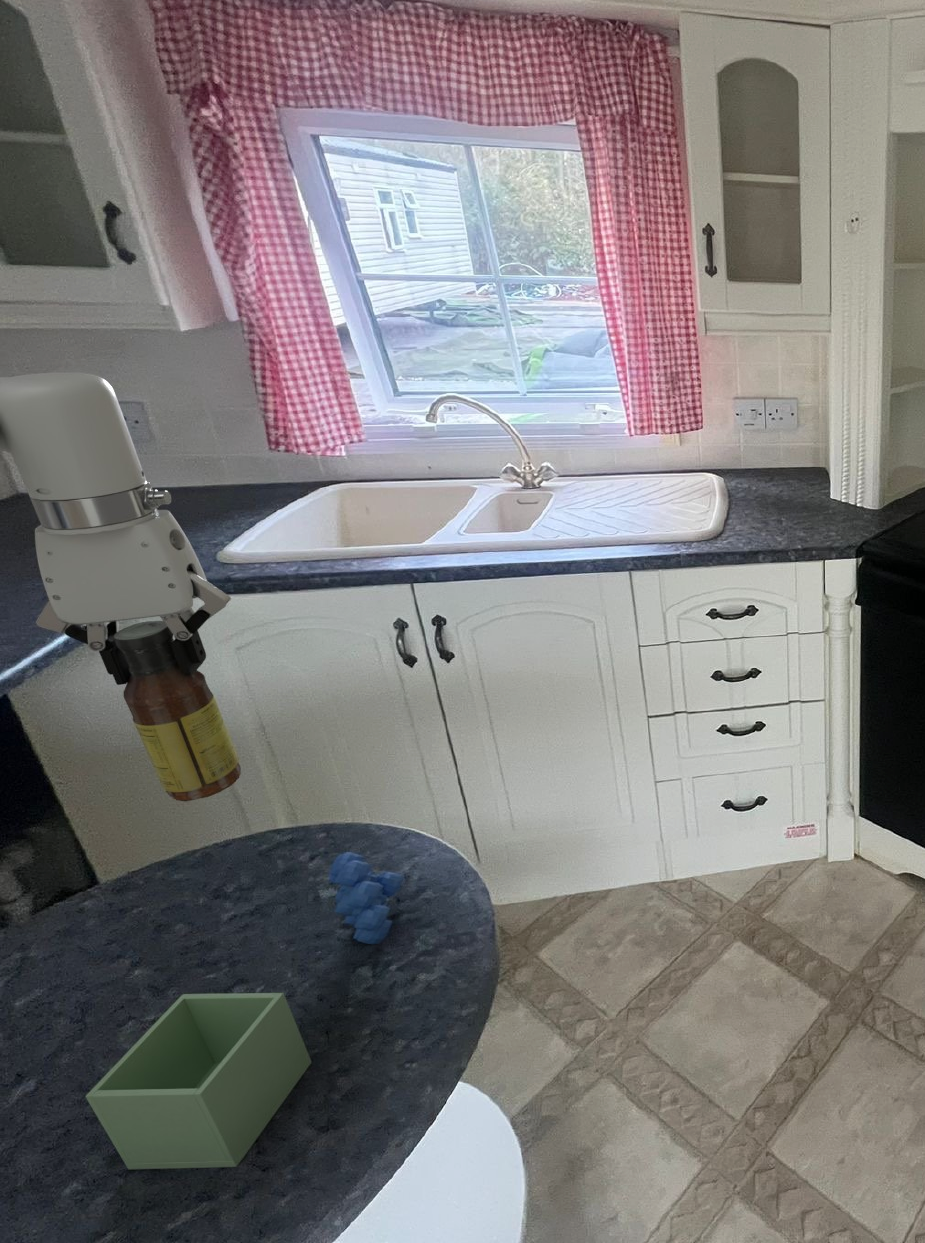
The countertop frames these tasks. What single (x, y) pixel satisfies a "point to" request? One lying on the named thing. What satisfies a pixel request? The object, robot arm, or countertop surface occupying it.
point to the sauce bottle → (175, 716)
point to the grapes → (363, 896)
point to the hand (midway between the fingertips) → (161, 671)
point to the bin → (202, 1081)
